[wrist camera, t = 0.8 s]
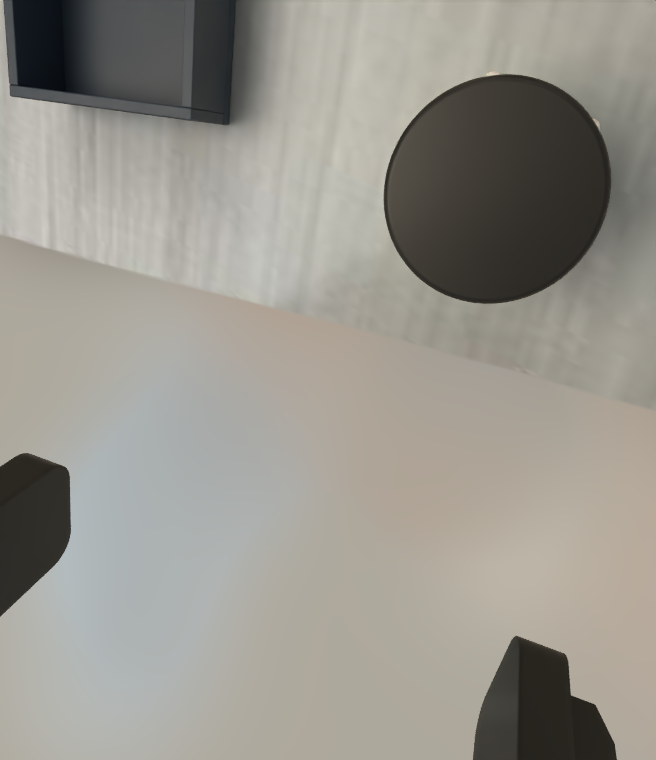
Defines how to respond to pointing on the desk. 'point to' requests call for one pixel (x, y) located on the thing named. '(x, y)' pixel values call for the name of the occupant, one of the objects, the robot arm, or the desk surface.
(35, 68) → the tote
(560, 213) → the jar
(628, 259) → the desk surface
